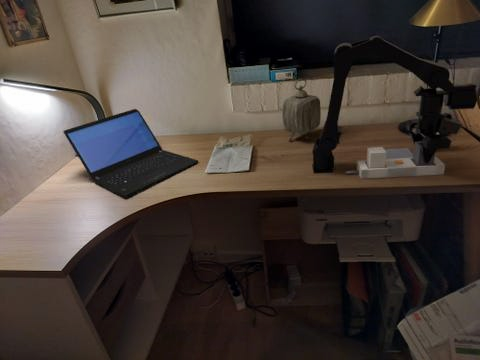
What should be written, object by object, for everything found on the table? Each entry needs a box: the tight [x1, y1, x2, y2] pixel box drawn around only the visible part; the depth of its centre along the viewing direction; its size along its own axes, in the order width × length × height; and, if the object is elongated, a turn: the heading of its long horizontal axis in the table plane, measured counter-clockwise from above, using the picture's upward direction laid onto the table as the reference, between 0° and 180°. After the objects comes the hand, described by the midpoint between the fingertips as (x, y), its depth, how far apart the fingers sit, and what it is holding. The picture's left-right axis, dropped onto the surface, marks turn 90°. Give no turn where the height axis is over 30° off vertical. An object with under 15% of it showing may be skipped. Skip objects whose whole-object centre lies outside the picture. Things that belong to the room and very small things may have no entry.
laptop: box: [62, 108, 199, 199], centre depth 129 cm, size 33×38×19 cm
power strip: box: [345, 155, 446, 179], centre depth 105 cm, size 28×7×4 cm, turn 83°
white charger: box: [366, 146, 386, 169], centre depth 105 cm, size 4×4×8 cm
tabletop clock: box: [281, 77, 322, 142], centre depth 135 cm, size 14×9×25 cm, turn 133°
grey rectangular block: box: [412, 141, 437, 166], centre depth 102 cm, size 4×4×9 cm
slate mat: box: [384, 147, 414, 159], centre depth 115 cm, size 10×10×1 cm
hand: (423, 159), depth 103 cm, fingers open, 5 cm apart
